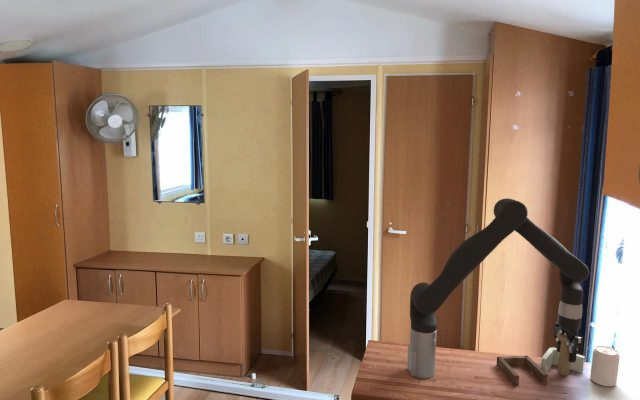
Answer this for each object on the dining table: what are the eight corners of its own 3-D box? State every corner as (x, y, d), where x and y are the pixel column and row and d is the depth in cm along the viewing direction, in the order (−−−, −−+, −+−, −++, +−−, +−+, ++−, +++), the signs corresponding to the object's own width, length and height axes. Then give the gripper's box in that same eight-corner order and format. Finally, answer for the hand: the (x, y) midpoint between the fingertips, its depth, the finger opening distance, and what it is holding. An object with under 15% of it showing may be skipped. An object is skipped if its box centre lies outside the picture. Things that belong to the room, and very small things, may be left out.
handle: (575, 377, 176) (579, 338, 173) (558, 377, 176) (561, 338, 173) (568, 370, 180) (572, 332, 178) (551, 370, 180) (554, 332, 178)
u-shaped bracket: (514, 385, 170) (515, 375, 169) (496, 365, 184) (497, 356, 183) (547, 383, 171) (547, 374, 171) (526, 364, 185) (527, 355, 184)
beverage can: (618, 381, 173) (622, 350, 171) (613, 390, 168) (616, 358, 166) (593, 373, 179) (596, 342, 177) (587, 381, 173) (590, 350, 171)
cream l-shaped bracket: (542, 374, 177) (543, 359, 176) (529, 362, 186) (530, 348, 185) (585, 373, 179) (586, 357, 178) (570, 361, 188) (572, 346, 187)
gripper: (548, 306, 181) (545, 348, 184) (572, 322, 167) (567, 367, 170) (567, 306, 182) (563, 347, 184) (592, 321, 168) (587, 366, 170)
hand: (565, 356), depth 177 cm, fingers open, 7 cm apart
